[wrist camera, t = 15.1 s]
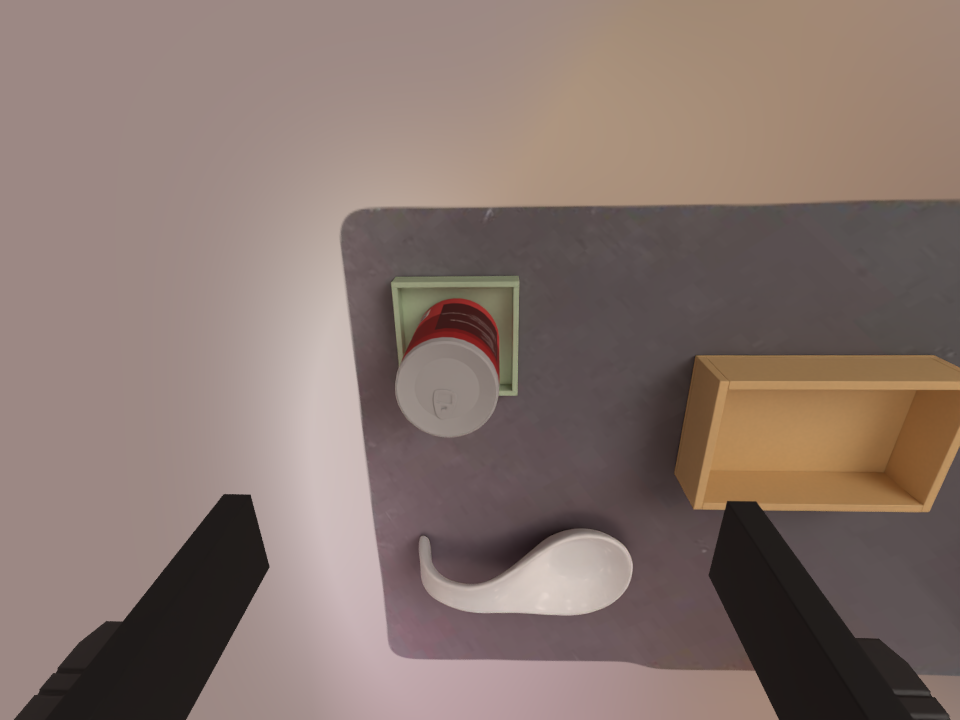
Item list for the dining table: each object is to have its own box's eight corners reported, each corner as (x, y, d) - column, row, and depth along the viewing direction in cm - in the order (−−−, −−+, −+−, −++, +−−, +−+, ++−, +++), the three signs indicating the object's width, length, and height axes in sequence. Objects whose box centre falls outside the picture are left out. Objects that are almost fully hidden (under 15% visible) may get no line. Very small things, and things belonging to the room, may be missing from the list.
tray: (395, 276, 43) (390, 282, 41) (518, 275, 42) (519, 281, 41) (405, 385, 47) (401, 395, 46) (516, 386, 47) (517, 395, 45)
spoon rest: (630, 510, 53) (649, 561, 46) (621, 587, 57) (636, 644, 51) (416, 510, 54) (405, 560, 47) (425, 585, 58) (415, 641, 52)
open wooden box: (673, 473, 50) (693, 509, 45) (695, 355, 45) (720, 381, 40) (885, 475, 49) (929, 512, 44) (934, 354, 44) (990, 381, 39)
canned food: (426, 379, 46) (406, 443, 36) (409, 300, 43) (382, 347, 33) (504, 370, 46) (506, 433, 36) (493, 289, 42) (491, 333, 32)
